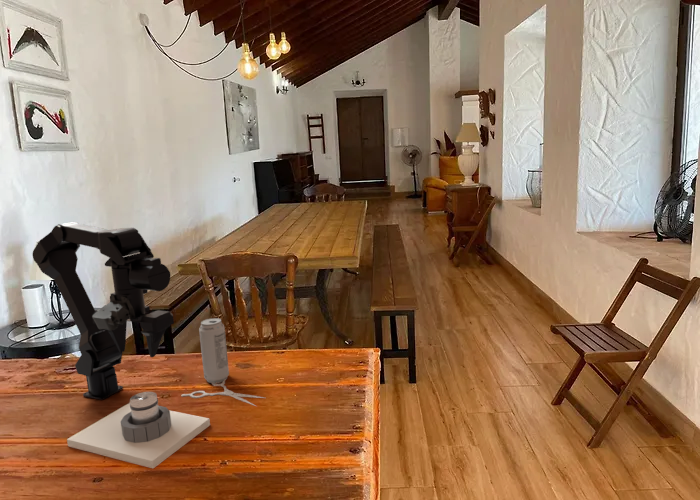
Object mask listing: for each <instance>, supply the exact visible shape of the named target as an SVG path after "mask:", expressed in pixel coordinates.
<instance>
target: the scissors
mask: <svg viewBox="0 0 700 500" xmlns="http://www.w3.org/2000/svg"><path fill="white" fill-rule="evenodd" d="M211 384H212V386H214V387H222V388H223V389H224V390H223V391H222V392H213V393H211V392H210V393H209V392H205V390H197V391H193V392H191V393H183V394H181V395H180V396H181V398H182V397H183V398H184V397H190V398H192V399H199V398H200V399H201V398H203V397H207V396H210V397H212V396H213V397H214V396H217V395H219V396H220V395H221V396H225V397H226V396H227V397H232V398H234V399H236V400H238V401H241V402H243V403H246V404H249V405H251V406H253V407H257V405H255V404H254V403H253V402H250V401H248V400H247V399H244V398H257V399H258V398H260V399H265V397H263V396H259V395H252V394H245V393H244V394H243V393H239V392H238V393H237V392H234V391H232V390H230V389H228V388H227V386H226V385H225V384H226V380H225V381H224V380H223V382H220V383H211ZM196 394H200V395H196Z"/></svg>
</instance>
